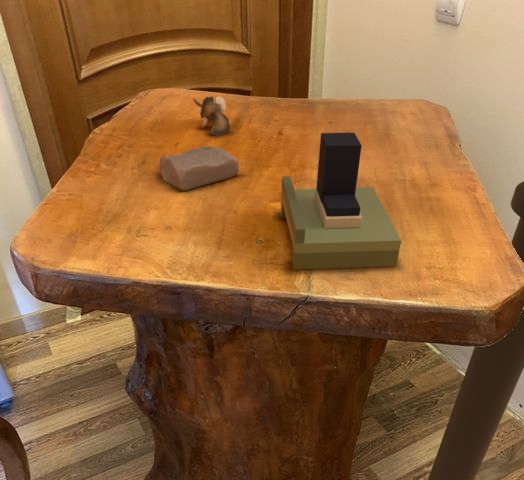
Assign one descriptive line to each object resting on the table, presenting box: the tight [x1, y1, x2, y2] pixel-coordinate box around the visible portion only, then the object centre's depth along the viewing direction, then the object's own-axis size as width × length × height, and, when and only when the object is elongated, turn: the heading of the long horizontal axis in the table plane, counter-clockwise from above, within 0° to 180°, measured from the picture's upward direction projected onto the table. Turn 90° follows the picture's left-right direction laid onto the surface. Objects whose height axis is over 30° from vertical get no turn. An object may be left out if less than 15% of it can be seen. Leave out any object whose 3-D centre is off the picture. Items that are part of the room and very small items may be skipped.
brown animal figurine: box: [192, 95, 231, 137], centre depth 112 cm, size 8×7×9 cm
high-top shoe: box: [314, 132, 363, 228], centre depth 75 cm, size 9×5×10 cm, turn 5°
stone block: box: [158, 146, 240, 192], centre depth 95 cm, size 12×5×10 cm
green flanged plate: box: [280, 175, 402, 271], centre depth 78 cm, size 14×16×6 cm
